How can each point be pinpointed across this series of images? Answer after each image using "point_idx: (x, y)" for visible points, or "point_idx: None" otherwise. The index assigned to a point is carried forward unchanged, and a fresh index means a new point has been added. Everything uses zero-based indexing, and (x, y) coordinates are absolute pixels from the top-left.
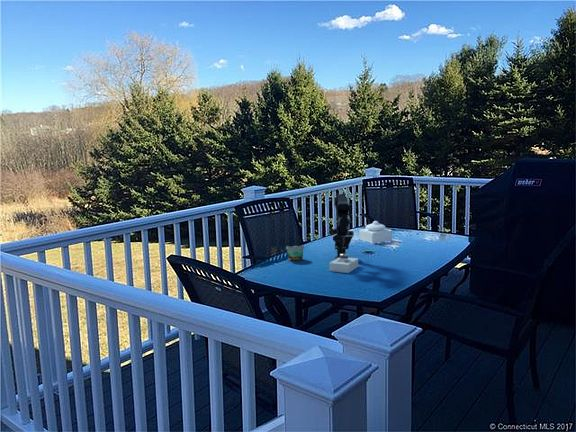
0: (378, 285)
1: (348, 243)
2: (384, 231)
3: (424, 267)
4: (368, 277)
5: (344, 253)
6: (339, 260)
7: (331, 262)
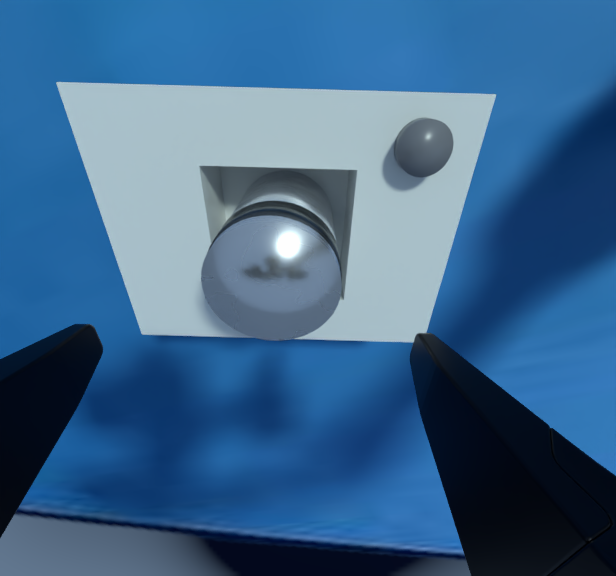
0: (79, 463)
1: (446, 475)
2: None
3: (447, 527)
4: (166, 409)
5: (318, 280)
6: (294, 166)
7: (98, 108)
